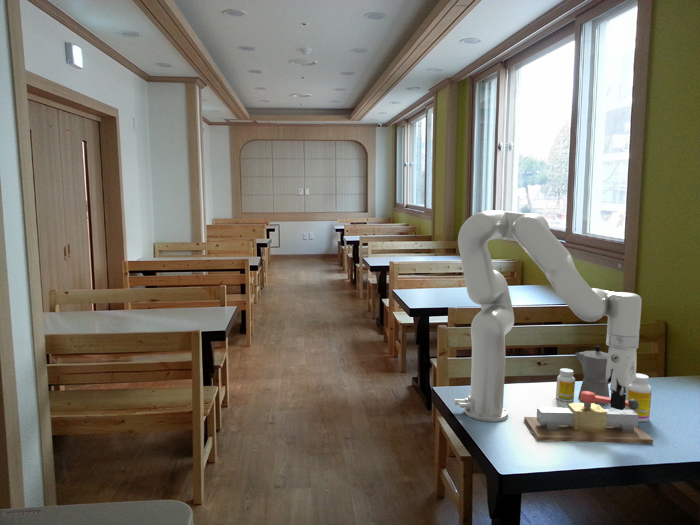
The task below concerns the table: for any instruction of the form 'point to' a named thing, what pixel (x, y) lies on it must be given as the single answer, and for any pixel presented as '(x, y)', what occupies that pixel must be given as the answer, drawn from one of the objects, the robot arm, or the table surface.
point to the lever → (604, 400)
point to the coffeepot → (594, 373)
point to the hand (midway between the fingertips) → (617, 408)
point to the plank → (586, 434)
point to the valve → (587, 418)
